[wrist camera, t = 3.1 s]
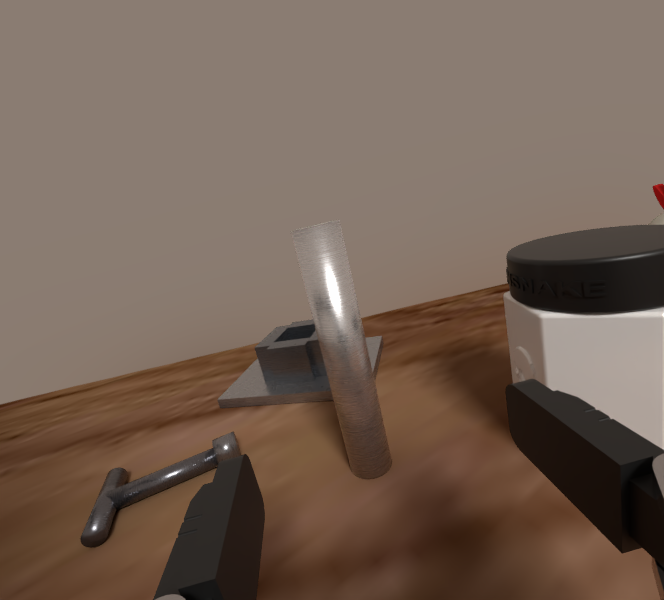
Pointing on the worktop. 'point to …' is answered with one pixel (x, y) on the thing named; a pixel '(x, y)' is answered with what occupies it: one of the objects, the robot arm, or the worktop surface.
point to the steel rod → (343, 346)
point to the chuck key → (149, 486)
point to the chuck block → (289, 369)
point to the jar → (593, 320)
